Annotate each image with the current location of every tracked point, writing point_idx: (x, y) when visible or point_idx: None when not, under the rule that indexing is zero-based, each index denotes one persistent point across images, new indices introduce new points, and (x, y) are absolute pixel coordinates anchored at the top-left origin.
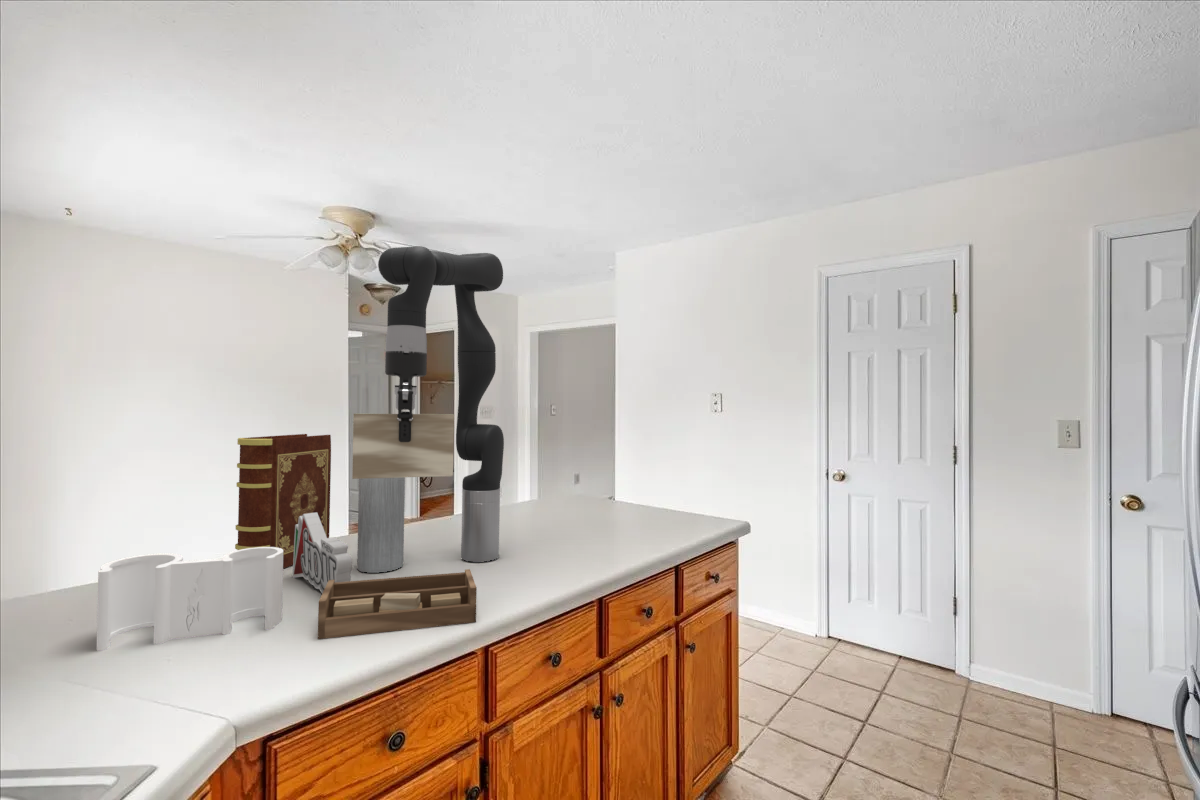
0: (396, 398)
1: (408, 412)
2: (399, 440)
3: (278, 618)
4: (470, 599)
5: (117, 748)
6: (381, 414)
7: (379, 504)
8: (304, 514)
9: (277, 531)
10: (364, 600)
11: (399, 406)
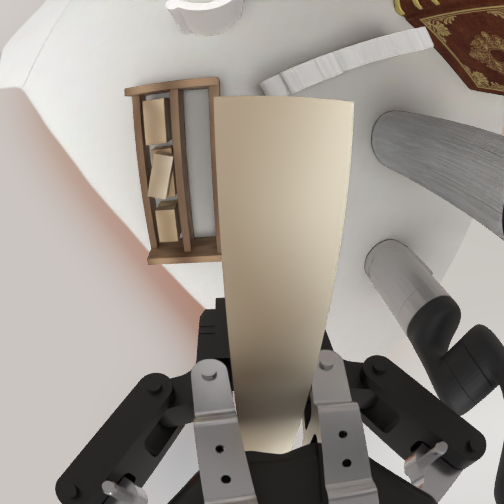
0: (202, 477)
1: (160, 425)
2: (216, 300)
3: (199, 33)
4: (150, 252)
5: (13, 44)
6: (228, 322)
7: (431, 156)
8: (413, 29)
9: (443, 16)
10: (158, 133)
11: (103, 428)
